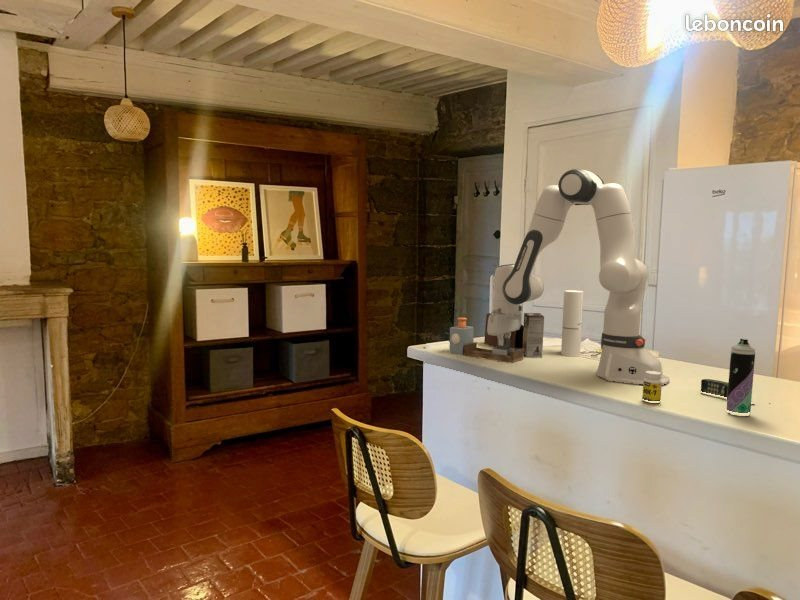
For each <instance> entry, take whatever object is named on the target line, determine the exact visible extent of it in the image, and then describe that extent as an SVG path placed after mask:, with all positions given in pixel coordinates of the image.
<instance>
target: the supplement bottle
mask: <svg viewBox="0 0 800 600" xmlns="http://www.w3.org/2000/svg"><path fill="white" fill-rule="evenodd" d="M645 377H646V378H644V381H643V385H642V395H641V396H642V397H641V400H642V399H644V400H648V401H660V400H661V399H662V398H661V397H662V388H663V387H662V381H661V380H660V378H661V373H660V372H656V371H646V373H645ZM660 402H661V401H660Z"/></svg>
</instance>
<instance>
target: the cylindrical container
mask: <svg viewBox="0 0 800 600" xmlns="http://www.w3.org/2000/svg"><path fill="white" fill-rule="evenodd" d="M563 291H564V292H563V309H562V329H561V330H562V331H561V350H560V351H561V352H560V353H561V356H564V357H569V358H571V357H572V358H577V357H580V356H581V349H582V348H581V347H582V330H583V329H582V326H583V325H582V323H583V308H584V307H583V304H584V291H583V290H572V289H569V290H568V289H567V290H563Z"/></svg>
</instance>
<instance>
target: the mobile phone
mask: <svg viewBox="0 0 800 600" xmlns="http://www.w3.org/2000/svg"><path fill="white" fill-rule="evenodd" d="M728 383H729V381H728V382H726V381H722V380H718V379H710V378H709V379H708V378H703V379H701V381H700V392H701V391H702V392H706V393H711V394H715V395H720V396H724V397H727V396H728Z"/></svg>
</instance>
